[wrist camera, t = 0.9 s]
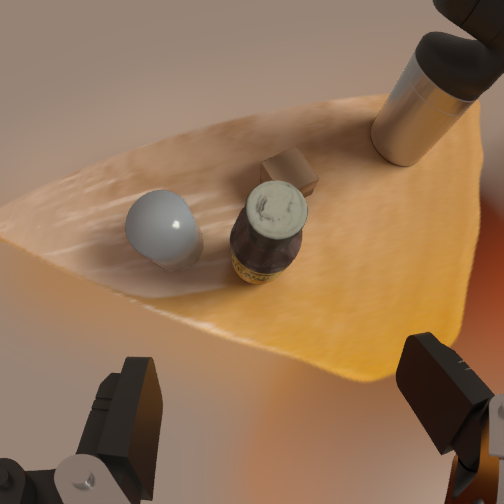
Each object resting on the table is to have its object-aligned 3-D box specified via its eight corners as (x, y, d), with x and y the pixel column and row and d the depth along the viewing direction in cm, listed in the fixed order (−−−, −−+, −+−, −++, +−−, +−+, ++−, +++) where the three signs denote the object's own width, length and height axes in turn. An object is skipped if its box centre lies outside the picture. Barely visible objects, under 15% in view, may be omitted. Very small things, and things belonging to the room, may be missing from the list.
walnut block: (291, 164, 42) (296, 146, 37) (311, 194, 41) (319, 178, 37) (259, 179, 42) (261, 162, 37) (279, 210, 41) (283, 196, 36)
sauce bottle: (222, 260, 39) (198, 202, 20) (257, 226, 40) (266, 141, 21) (260, 298, 38) (273, 275, 19) (295, 262, 39) (340, 206, 20)
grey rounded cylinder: (188, 208, 41) (174, 178, 32) (213, 254, 39) (203, 235, 31) (141, 233, 40) (116, 210, 31) (164, 281, 39) (141, 269, 30)
